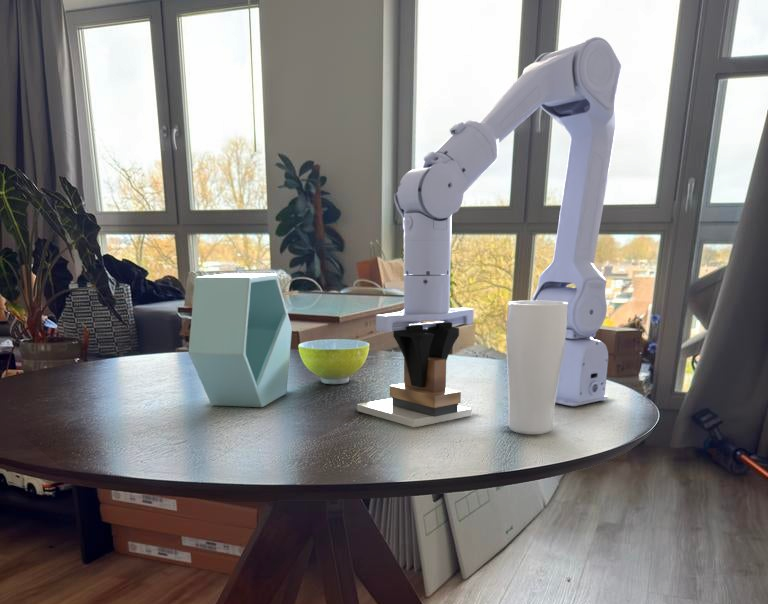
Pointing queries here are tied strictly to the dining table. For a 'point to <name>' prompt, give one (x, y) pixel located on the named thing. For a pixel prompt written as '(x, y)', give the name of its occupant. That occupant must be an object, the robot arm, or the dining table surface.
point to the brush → (427, 392)
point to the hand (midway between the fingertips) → (425, 385)
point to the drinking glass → (534, 362)
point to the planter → (240, 338)
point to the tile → (407, 413)
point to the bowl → (334, 358)
